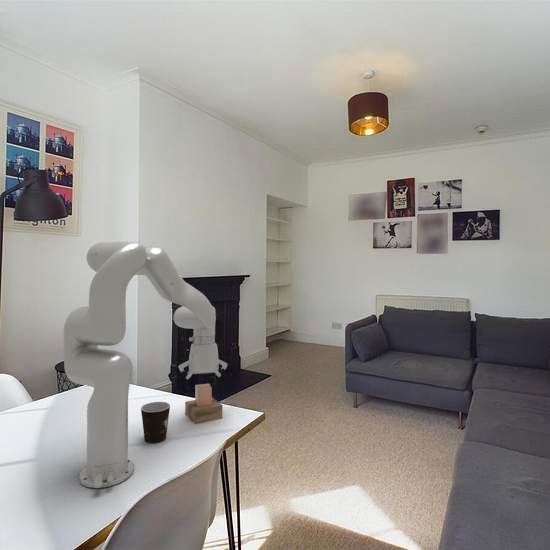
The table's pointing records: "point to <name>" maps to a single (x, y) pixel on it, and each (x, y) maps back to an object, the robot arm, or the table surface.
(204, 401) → the terracotta cube
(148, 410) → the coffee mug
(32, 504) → the table surface
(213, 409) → the walnut box
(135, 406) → the table surface
